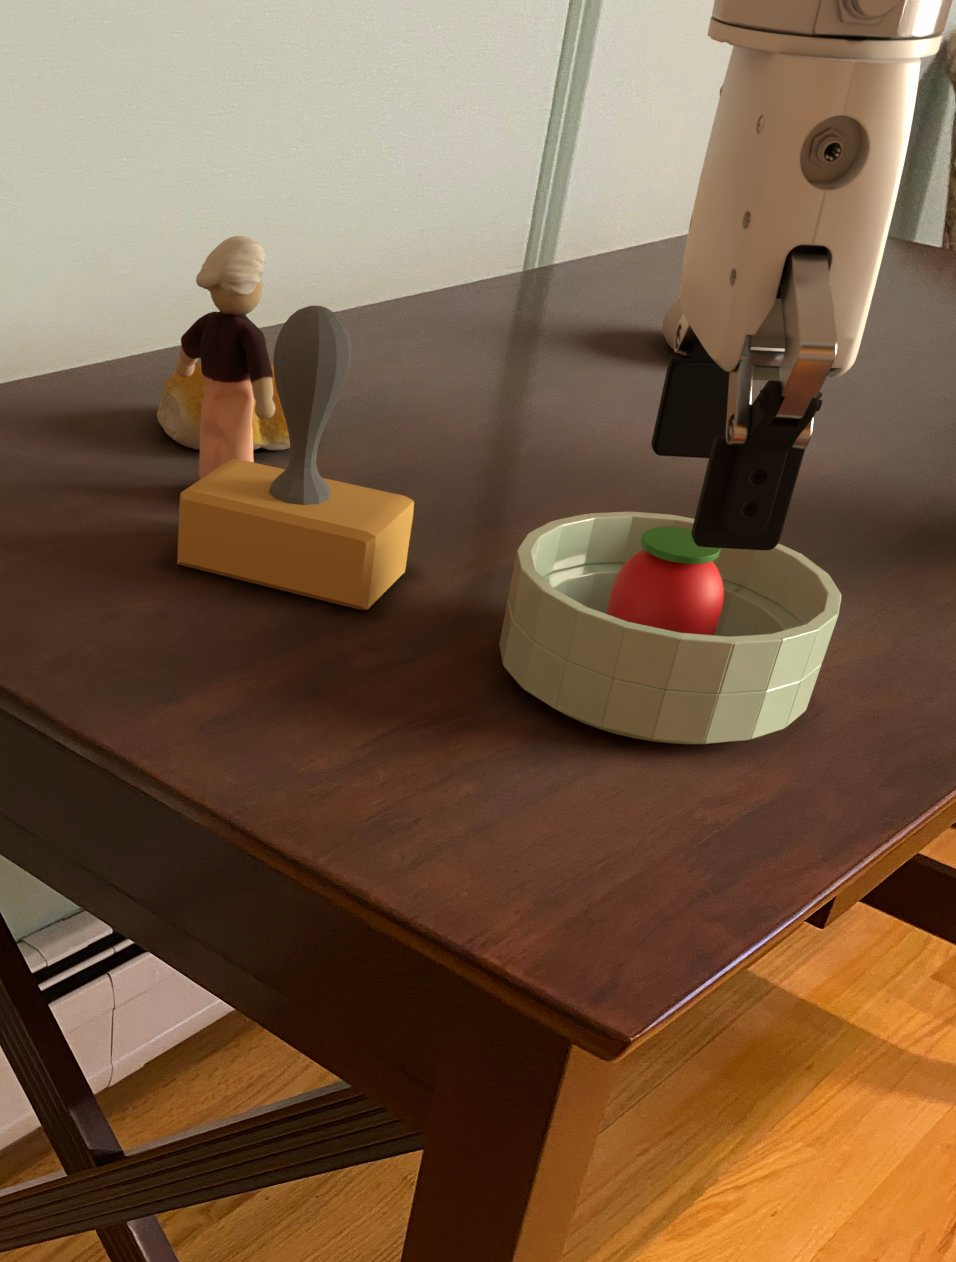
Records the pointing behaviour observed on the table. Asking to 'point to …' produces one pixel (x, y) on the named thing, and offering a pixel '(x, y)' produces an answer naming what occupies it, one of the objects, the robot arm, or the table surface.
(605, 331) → the table surface
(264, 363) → the grandmother figurine
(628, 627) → the bowl
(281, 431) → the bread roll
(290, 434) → the rubber stamp
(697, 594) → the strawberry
